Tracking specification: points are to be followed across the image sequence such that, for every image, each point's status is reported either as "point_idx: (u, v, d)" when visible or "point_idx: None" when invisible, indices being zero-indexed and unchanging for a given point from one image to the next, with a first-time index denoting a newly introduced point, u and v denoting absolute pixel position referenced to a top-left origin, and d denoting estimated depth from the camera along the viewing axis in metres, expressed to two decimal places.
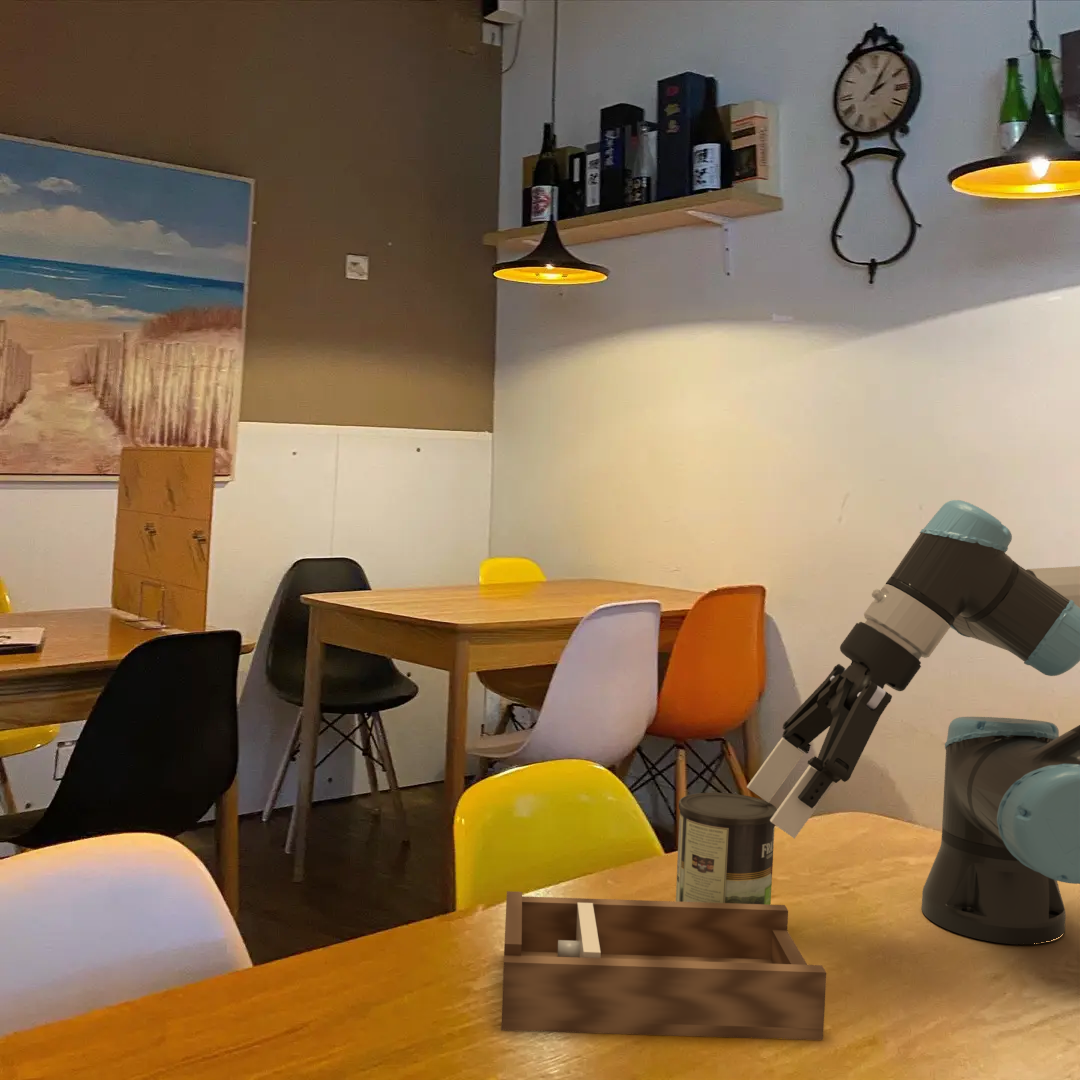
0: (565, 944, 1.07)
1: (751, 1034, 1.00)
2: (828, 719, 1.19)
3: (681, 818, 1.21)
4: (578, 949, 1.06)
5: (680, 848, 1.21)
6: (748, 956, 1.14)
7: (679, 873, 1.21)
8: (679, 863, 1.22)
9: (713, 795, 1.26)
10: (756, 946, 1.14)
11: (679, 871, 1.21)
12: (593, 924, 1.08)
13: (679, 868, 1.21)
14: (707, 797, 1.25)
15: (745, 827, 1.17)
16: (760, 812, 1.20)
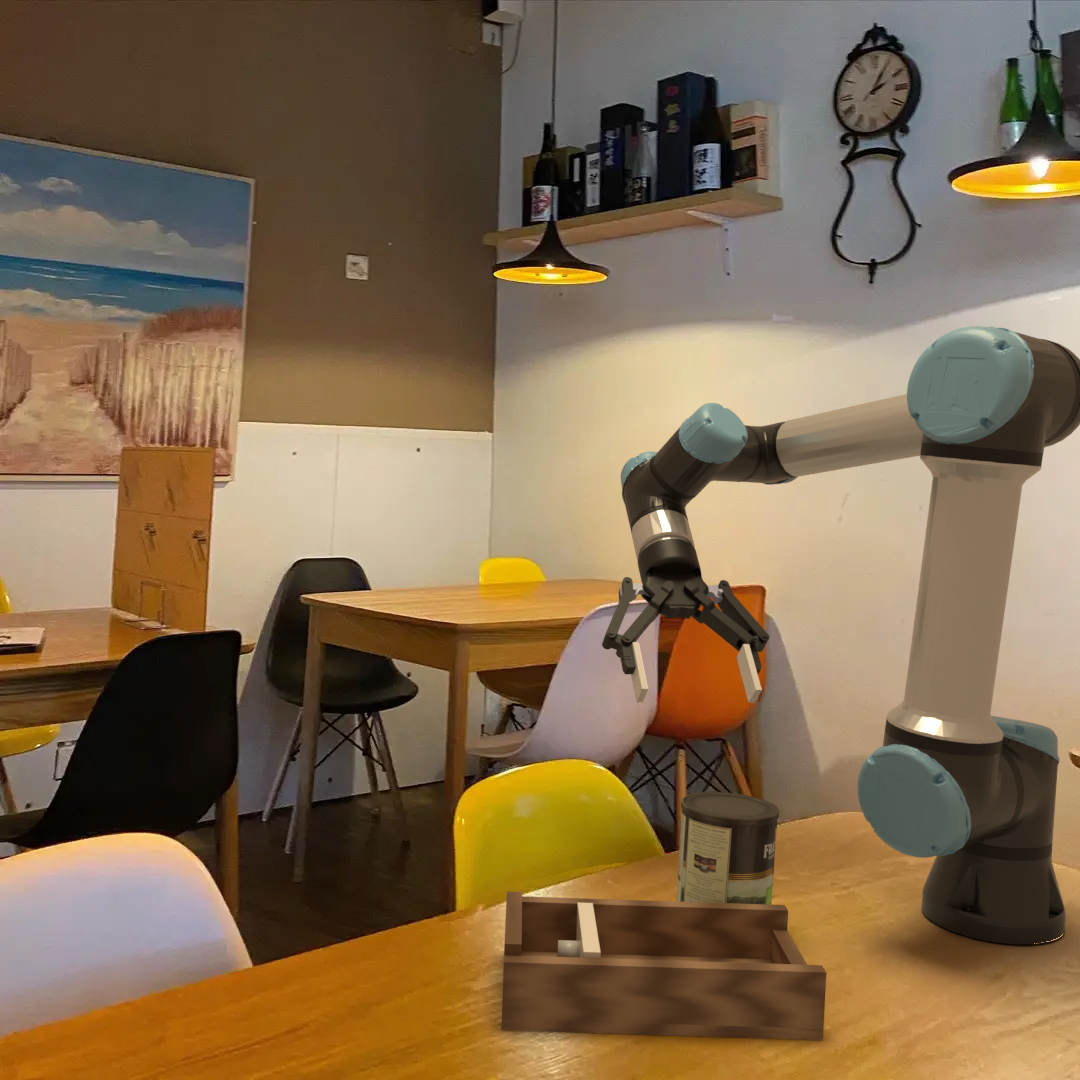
0: (565, 944, 1.07)
1: (751, 1034, 1.00)
2: (711, 617, 1.39)
3: (683, 817, 1.21)
4: (578, 949, 1.06)
5: (682, 848, 1.21)
6: (748, 956, 1.14)
7: (680, 873, 1.21)
8: (681, 862, 1.21)
9: (715, 794, 1.26)
10: (756, 946, 1.14)
11: (680, 870, 1.21)
12: (593, 924, 1.08)
13: (681, 867, 1.21)
14: (709, 796, 1.25)
15: (748, 827, 1.17)
16: (763, 813, 1.20)
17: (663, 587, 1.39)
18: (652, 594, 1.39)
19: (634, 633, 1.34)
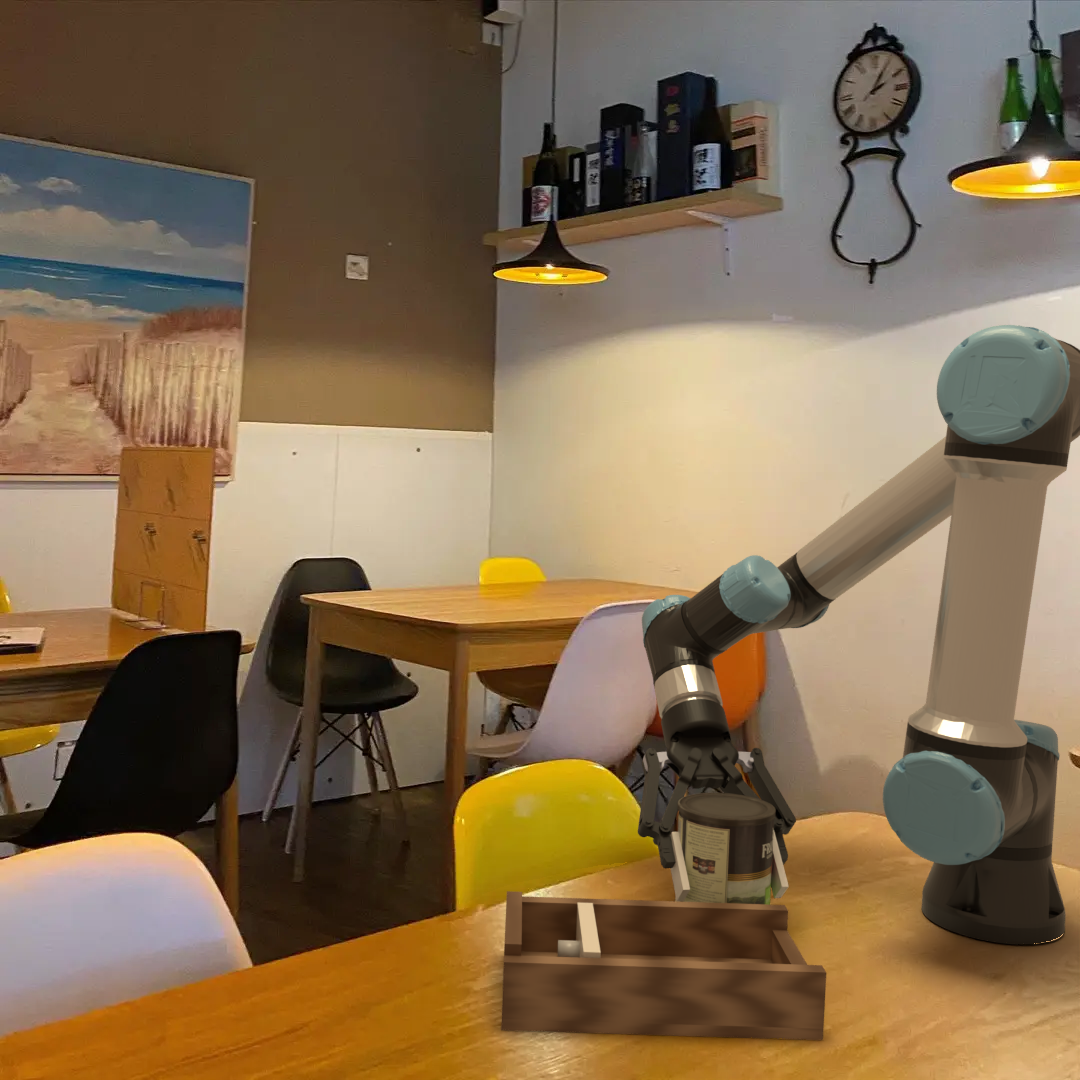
0: (565, 944, 1.07)
1: (751, 1034, 1.00)
2: (737, 791, 1.27)
3: (681, 819, 1.21)
4: (578, 949, 1.06)
5: None
6: (748, 956, 1.14)
7: None
8: None
9: (710, 795, 1.26)
10: (756, 946, 1.14)
11: None
12: (593, 924, 1.08)
13: None
14: (705, 797, 1.25)
15: (746, 828, 1.17)
16: (760, 812, 1.20)
17: (690, 757, 1.28)
18: (680, 763, 1.28)
19: (672, 819, 1.23)
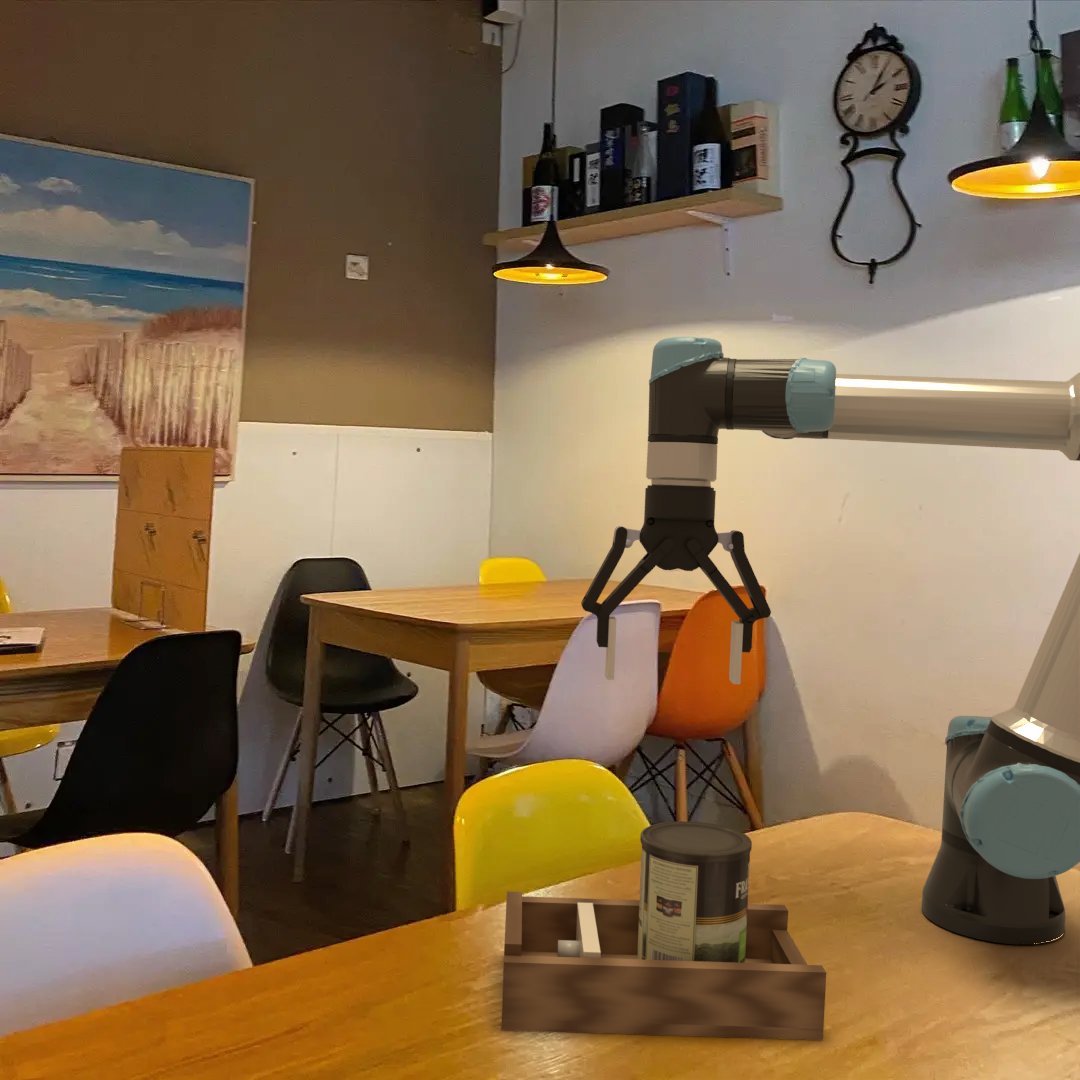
0: (565, 944, 1.07)
1: (751, 1034, 1.00)
2: (711, 580, 1.23)
3: (643, 853, 1.06)
4: (578, 949, 1.06)
5: (643, 888, 1.06)
6: (748, 956, 1.14)
7: (641, 916, 1.06)
8: (641, 905, 1.06)
9: (679, 825, 1.11)
10: (756, 946, 1.14)
11: (642, 914, 1.06)
12: (593, 924, 1.08)
13: (642, 911, 1.06)
14: (672, 827, 1.10)
15: (717, 864, 1.02)
16: (733, 846, 1.05)
17: (660, 547, 1.22)
18: (647, 549, 1.23)
19: (614, 606, 1.23)
